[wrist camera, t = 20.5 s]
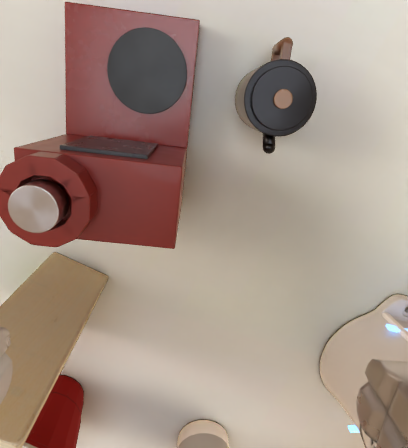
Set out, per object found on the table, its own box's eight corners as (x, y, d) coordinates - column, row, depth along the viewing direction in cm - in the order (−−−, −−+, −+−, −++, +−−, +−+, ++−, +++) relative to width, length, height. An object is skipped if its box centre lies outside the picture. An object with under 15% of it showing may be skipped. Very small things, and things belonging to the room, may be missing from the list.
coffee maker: (187, 144, 35) (181, 171, 22) (181, 202, 37) (173, 259, 24) (70, 131, 34) (-10, 150, 21) (70, 190, 36) (-2, 242, 23)
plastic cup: (22, 347, 43) (-42, 437, 31) (110, 368, 44) (80, 462, 32) (10, 414, 46) (-51, 516, 35) (93, 431, 47) (59, 536, 36)
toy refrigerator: (47, 246, 38) (-114, 402, 18) (110, 274, 40) (23, 449, 20) (23, 302, 41) (-144, 496, 21) (83, 328, 42) (-20, 533, 22)
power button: (68, 181, 22) (58, 188, 21) (69, 226, 23) (59, 235, 22) (20, 176, 22) (5, 182, 20) (22, 221, 23) (8, 230, 21)
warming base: (199, 26, 32) (200, -11, 21) (187, 144, 35) (183, 163, 25) (74, 9, 31) (12, -38, 21) (74, 131, 34) (22, 145, 24)
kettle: (302, 52, 32) (334, 37, 25) (284, 148, 35) (308, 161, 28) (242, 44, 32) (255, 26, 25) (228, 141, 35) (237, 153, 27)
